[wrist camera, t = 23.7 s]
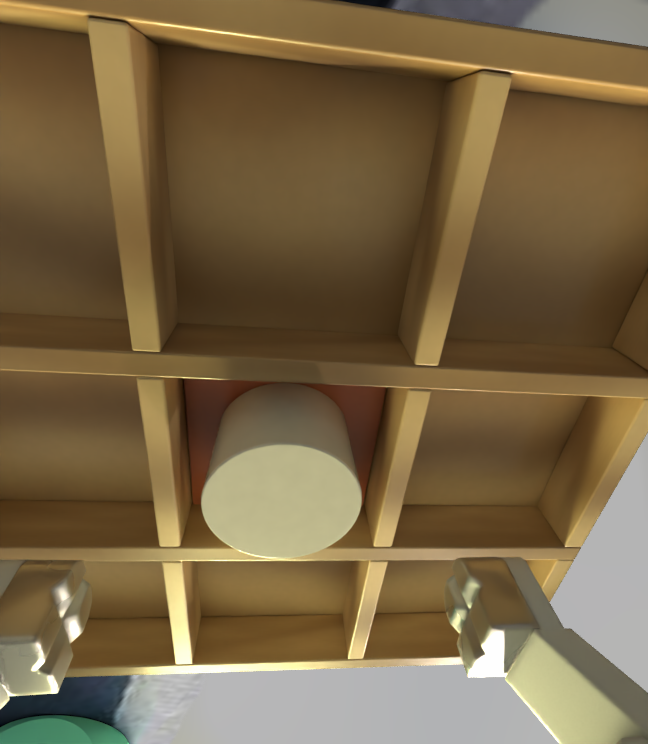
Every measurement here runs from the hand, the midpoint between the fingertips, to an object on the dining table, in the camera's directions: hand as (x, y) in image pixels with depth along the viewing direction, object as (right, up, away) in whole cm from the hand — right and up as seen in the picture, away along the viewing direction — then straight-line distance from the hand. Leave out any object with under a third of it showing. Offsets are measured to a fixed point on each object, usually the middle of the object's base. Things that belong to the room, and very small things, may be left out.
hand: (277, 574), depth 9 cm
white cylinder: (0, +2, +5) cm, 5 cm away
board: (0, +3, +5) cm, 6 cm away
